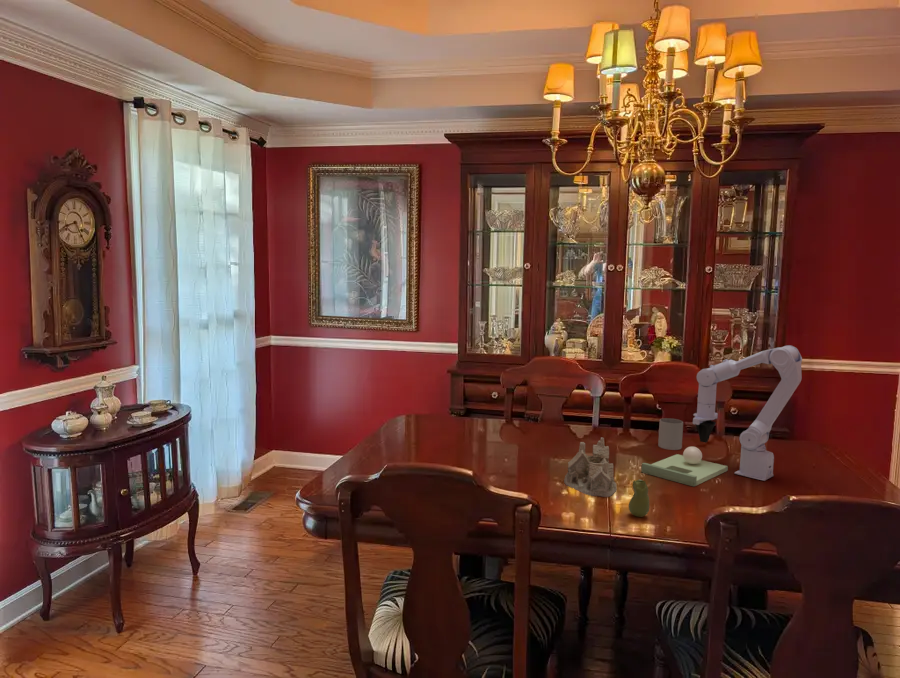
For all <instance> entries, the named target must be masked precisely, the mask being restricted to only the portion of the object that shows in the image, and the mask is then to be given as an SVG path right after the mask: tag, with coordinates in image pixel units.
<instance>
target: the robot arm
mask: <svg viewBox="0 0 900 678" xmlns="http://www.w3.org/2000/svg"><path fill="white" fill-rule="evenodd" d="M802 361H803V357H802V355H801V353H800V351H799V349H798V348H797V347H795V346H793V345H790V344H788V345H784V346H781V347H775V348H769V349H766V350H762V351H758V352H757V353H754V354H751V355H749V356H747V357H744V358H742V359H739V360H734V359H728V358H726V359H724V360H722V362H720V363H716V364H711V365H709V367H708V368H707V367H706V368H702V369H700V371H698V372H697V373H696V381H697V382H698V391H697V392H698V393H697V407H696V412H695V413H693V414H692V415H693V416H694V417H693V418H692V424H693V425H695V427H696V429H697V431H698V432H697V433H698V437H699V442H702V443H705V444H706V443H708V441H709V439H710V435H711V433H712V430H713V429H714V427H715V425H716V424H717V423H716V421H713V420H717V419H718V415H719V414H718V412H716V403H717V402H716V401H717V384H718V383H721V382H722V381H723V382H724V381H726V380H729V379H732V378H734V377H738V376H739V374H740V372H741V370H744V369H745V370H746V369H747V368H750V367H754V366H757V365H760V364H765V365H771V364H772V366H773V367H774V368H775V369H776V370H777V371H778V374H779V376H780V378H781V379H780V381H779V383H778V384H777V385H776V387H775V389H774V390H773V392H772V394H771V395H770V397H769V398H768V400H767V402H766V403H765V405H764V406H763V407H762V409H761V411H760V412H759V414H758V415H757V417H756V418H755V420H753V422H752V423H751V424H750V425H749V427H748V428H747V429H746V430H743V431H742V432H741V433H740V434H739V438H738V439H739V442H740V445H741V447H740V460H739V461H740V462H739V470H737V471H734V474H735V475H739V476H743V477H747V478H751V479H755V480H758V481H759V480H760V481H764V482H765V481H767V480H768V479H771V478H772V477H774V463H775V455H774V453H773V452H772V451H769V450H767V447H766V445H765V444H767V442H768V441H769V435H770V432H771V430H772V426H773V424H774V423H775V421H776V420H777V418H778V417H779V415H780V414H781V412H782V411H783V410H784V408H785V406H786V405H787V403H788V402H789V401H790V399H791V397H792V396H793V394H794V392H795V391H796V390H797V388H798V387H799V385H800V384H801V381H802V379H803V378H802V376H803V375H802V363H803V362H802Z"/></svg>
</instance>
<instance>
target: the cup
mask: <svg viewBox="0 0 900 678" xmlns="http://www.w3.org/2000/svg"><path fill="white" fill-rule="evenodd" d="M683 431H684V421H683V420H680V419H678V418H671V417H670V418H667V417H665V418H660V419H659V427H658V441H657V443H658V444H657V446H658V447H659V448H661V449H664V450H669V451H670V450H672V451H678V450H682V449H683V434H684V432H683Z"/></svg>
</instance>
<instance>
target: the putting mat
mask: <svg viewBox="0 0 900 678" xmlns="http://www.w3.org/2000/svg"><path fill="white" fill-rule="evenodd" d="M640 468H641V471H640V472H641V473H643V474H647V475H650V476H653V477H657V478H660V479H664V480H668V481H672V482H675V483H679V484H682V485H686V486H690V487H694V488H695V487H696V486H699V485H700V484H702V483H704V482H707V481H709V480H711V479H713V478H715V477H717V476H719V475H722V474H724V473H726V472H727V471H729V470H728V468H729V467H728V465H725V464H724V465H723V464H720V463H716V462H715V463H714V462H711V461H707V460H704V459H701V461H700V462H699V463H698V464H694V465H692V464H689V463H687V462H686V461H685V460H684V457H683V454H679V453H678V454H677V453H676V454H674V455H671V456H669V457H667V458H663V459H661V460H658V461H656V462H653V463H647V462H642V463H641V467H640Z"/></svg>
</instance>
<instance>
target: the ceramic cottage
mask: <svg viewBox="0 0 900 678" xmlns="http://www.w3.org/2000/svg"><path fill="white" fill-rule="evenodd" d="M609 459H610V448H609V445H607V446H605V438H604V437H600V440H598V441H597V443H596V444H593V445H592V455H588V454H586V443H585V442H584V441H580V442H579V449H578V451H577V452H576V455H574V456H573V457H572V459H570V461H568V462H567V464H568V466H567V471H568V472H566V474H565V476H564V480H563V482H564V484H565V485H566V486H567V487H570V488H572V489H573V488H574V490H576V491H578V492H581V494H585V495H588V496H592V497H603V498H608V497H612V496H613V495H614V494H615V493H616V492H617V489H618V488H617V483H616V481H615V478H614V463H610V461H609Z"/></svg>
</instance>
